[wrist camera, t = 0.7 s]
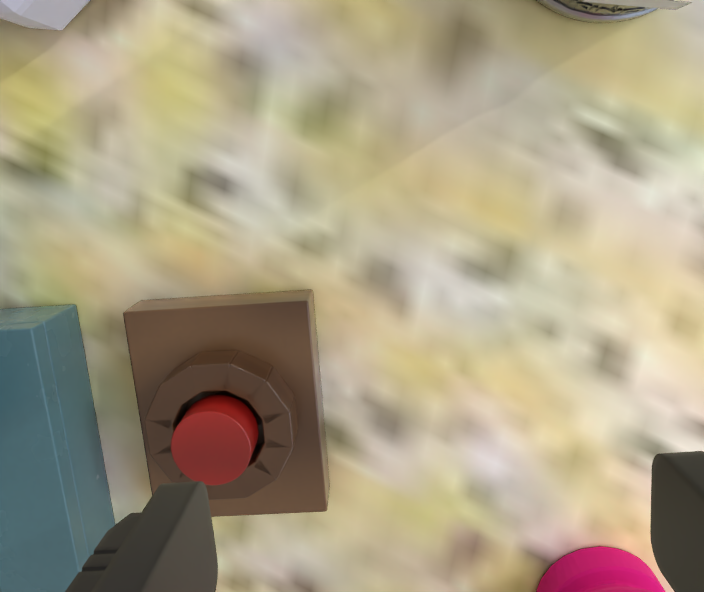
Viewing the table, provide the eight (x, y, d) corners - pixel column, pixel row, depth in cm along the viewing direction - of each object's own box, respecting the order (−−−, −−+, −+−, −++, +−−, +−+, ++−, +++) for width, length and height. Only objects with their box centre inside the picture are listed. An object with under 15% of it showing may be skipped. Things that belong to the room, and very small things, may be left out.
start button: (178, 396, 26) (165, 413, 24) (254, 392, 26) (246, 409, 24) (188, 465, 27) (176, 487, 25) (262, 462, 27) (255, 484, 25)
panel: (140, 299, 29) (104, 323, 25) (312, 288, 29) (303, 311, 25) (170, 494, 31) (141, 544, 27) (330, 486, 31) (324, 535, 27)
